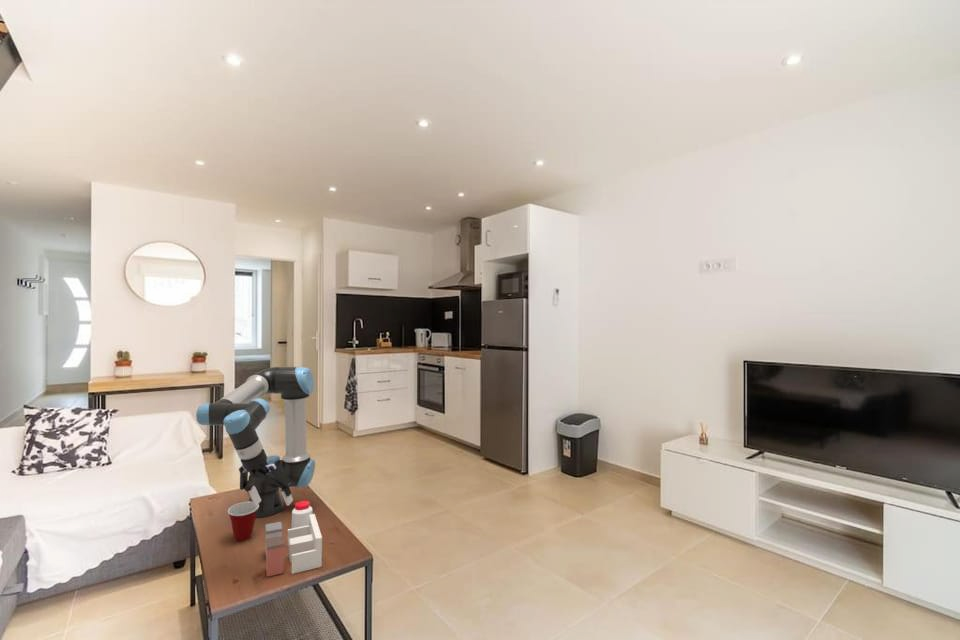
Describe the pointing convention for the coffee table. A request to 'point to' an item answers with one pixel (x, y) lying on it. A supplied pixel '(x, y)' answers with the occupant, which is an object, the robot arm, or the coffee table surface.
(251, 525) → the plastic cup
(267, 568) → the capped red pillar
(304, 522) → the pill bottle
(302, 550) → the rack
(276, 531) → the grey capped white pillar
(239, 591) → the coffee table surface
